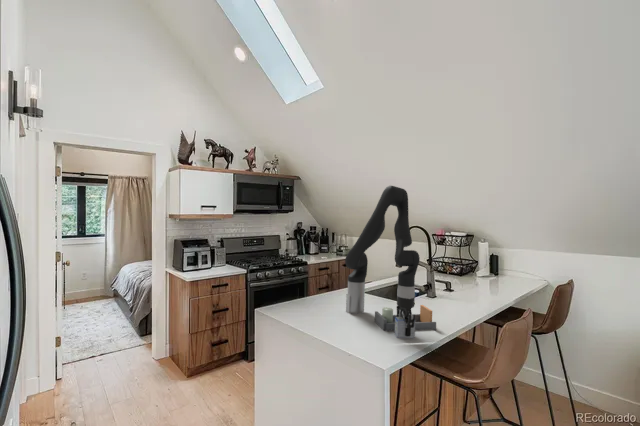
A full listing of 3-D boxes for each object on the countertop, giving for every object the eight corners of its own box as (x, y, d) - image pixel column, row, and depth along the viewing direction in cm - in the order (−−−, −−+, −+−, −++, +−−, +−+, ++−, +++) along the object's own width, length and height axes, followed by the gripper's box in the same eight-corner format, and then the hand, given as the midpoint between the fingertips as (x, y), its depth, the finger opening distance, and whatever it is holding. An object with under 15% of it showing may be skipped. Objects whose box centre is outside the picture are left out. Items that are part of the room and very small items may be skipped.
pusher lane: (383, 332, 150) (384, 320, 150) (374, 323, 162) (375, 311, 162) (436, 330, 154) (436, 318, 154) (423, 321, 167) (423, 310, 167)
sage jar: (384, 327, 154) (384, 310, 154) (380, 323, 159) (380, 307, 159) (394, 327, 155) (394, 310, 155) (390, 323, 160) (390, 307, 160)
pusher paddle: (429, 327, 155) (430, 310, 155) (419, 320, 165) (420, 304, 165) (431, 327, 156) (432, 310, 155) (422, 320, 165) (422, 304, 165)
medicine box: (411, 336, 147) (412, 316, 147) (414, 340, 142) (415, 320, 142) (394, 335, 147) (394, 316, 146) (396, 339, 142) (397, 319, 142)
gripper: (391, 291, 151) (390, 327, 151) (404, 300, 136) (403, 340, 137) (406, 291, 152) (405, 327, 152) (421, 299, 138) (420, 339, 138)
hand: (404, 333), depth 144 cm, fingers open, 5 cm apart
